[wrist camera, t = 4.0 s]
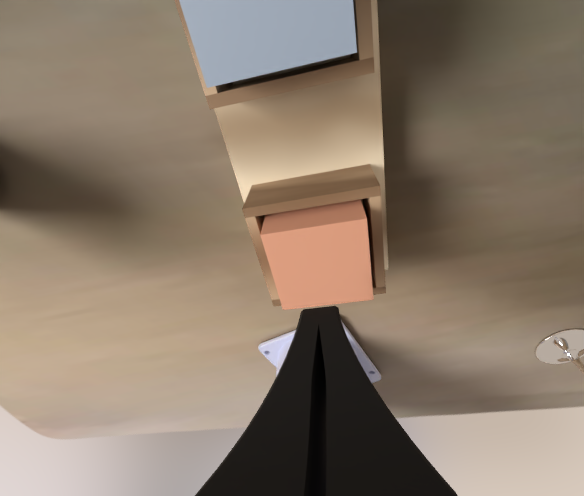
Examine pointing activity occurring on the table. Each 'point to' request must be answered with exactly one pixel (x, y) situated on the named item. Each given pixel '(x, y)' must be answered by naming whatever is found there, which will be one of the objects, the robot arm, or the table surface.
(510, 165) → the table surface
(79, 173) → the table surface
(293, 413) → the robot arm
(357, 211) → the terracotta key
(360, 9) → the wooden socket board
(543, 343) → the wineglass
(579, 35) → the table surface
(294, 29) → the slate key
